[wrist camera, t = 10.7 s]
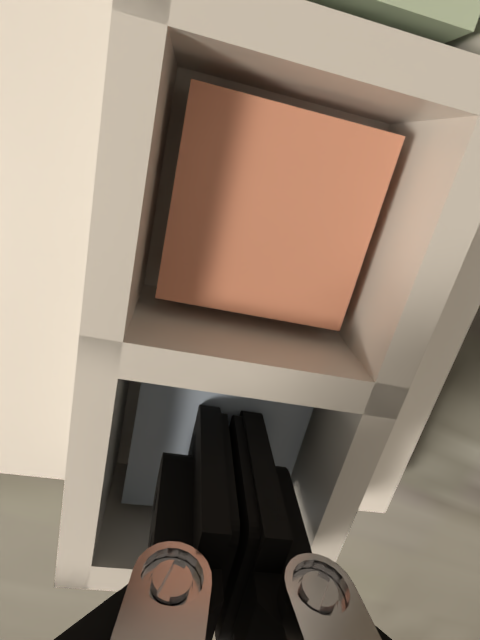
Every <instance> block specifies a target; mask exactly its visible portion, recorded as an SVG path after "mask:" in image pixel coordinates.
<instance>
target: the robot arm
mask: <svg viewBox="0 0 480 640" xmlns="http://www.w3.org/2000/svg"><path fill="white" fill-rule="evenodd" d="M214 631H215V637H216V640H392V639H391V638H389V637H388V636H387V635H386V634H385V633H383V632H382V631H381V630H380V629H379V628H377V627H376V626H375V625H374V623H373V621H372V619H371V617H370V615H369V613H368V611H367V609H366V607H365V605H364V603H363V601H362V599H361V597H360V595H359V593H358V591H357V589H356V587H355V585H354V583H353V581H352V580H351V578H350V577H349V575H348V574H347V573H346V572H345V571H344V570H343V569H342V568H341V567H340V566H339V565H338V564H337V563H335V562H334V561H332V560H331V559H329V558H327V557H325V556H322V555H319V554H314V553H312V550H311V547H310V543H309V540H308V536H307V533H306V529H305V526H304V522H303V519H302V515H301V511H300V508H299V504H298V501H297V497H296V494H295V490H294V487H293V483H292V480H291V476H290V473H289V471H288V469H287V468H286V467H282V466H275V463H274V459H273V455H272V450H271V446H270V442H269V438H268V434H267V430H266V426H265V422H264V418H263V415H262V413H256V412H249V411H241V412H240V414H239V416H238V415H233V416H232V418H231V421H230V425H229V422H228V415H227V414H224V413H221V409H220V407H214V406H207V405H199V407H198V412H197V416H196V421H195V425H194V429H193V434H192V438H191V443H190V447H189V452H188V455H182V454H174V453H166V452H163V454H162V458H161V463H160V468H159V473H158V478H157V483H156V489H155V495H154V502H153V509H152V517H151V525H150V533H149V541H148V548H147V549H146V550H145V551H144V552H143V553H142V554H141V555H140V556H139V557H138V559H137V561H136V563H135V565H134V567H133V570H132V573H131V577H130V580H129V583H128V584H127V585H126V586H124V587H123V588H122V589H120V590H119V591H118V592H116V593H115V594H114V595H112V596H111V597H110V598H108V599H107V600H106V601H104V602H103V603H102V604H100V605H99V606H98V607H96V608H95V609H94V610H92V611H91V612H90V613H88V614H87V615H86V616H84V617H83V618H82V619H80V620H79V621H78V622H76V623H75V624H74V625H72V626H71V627H70V628H69V629H67V630H66V631H65V632H63V633H62V634H61V635H59V636H58V637H57V638H55V639H54V640H212V638H213V634H214Z"/></svg>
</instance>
